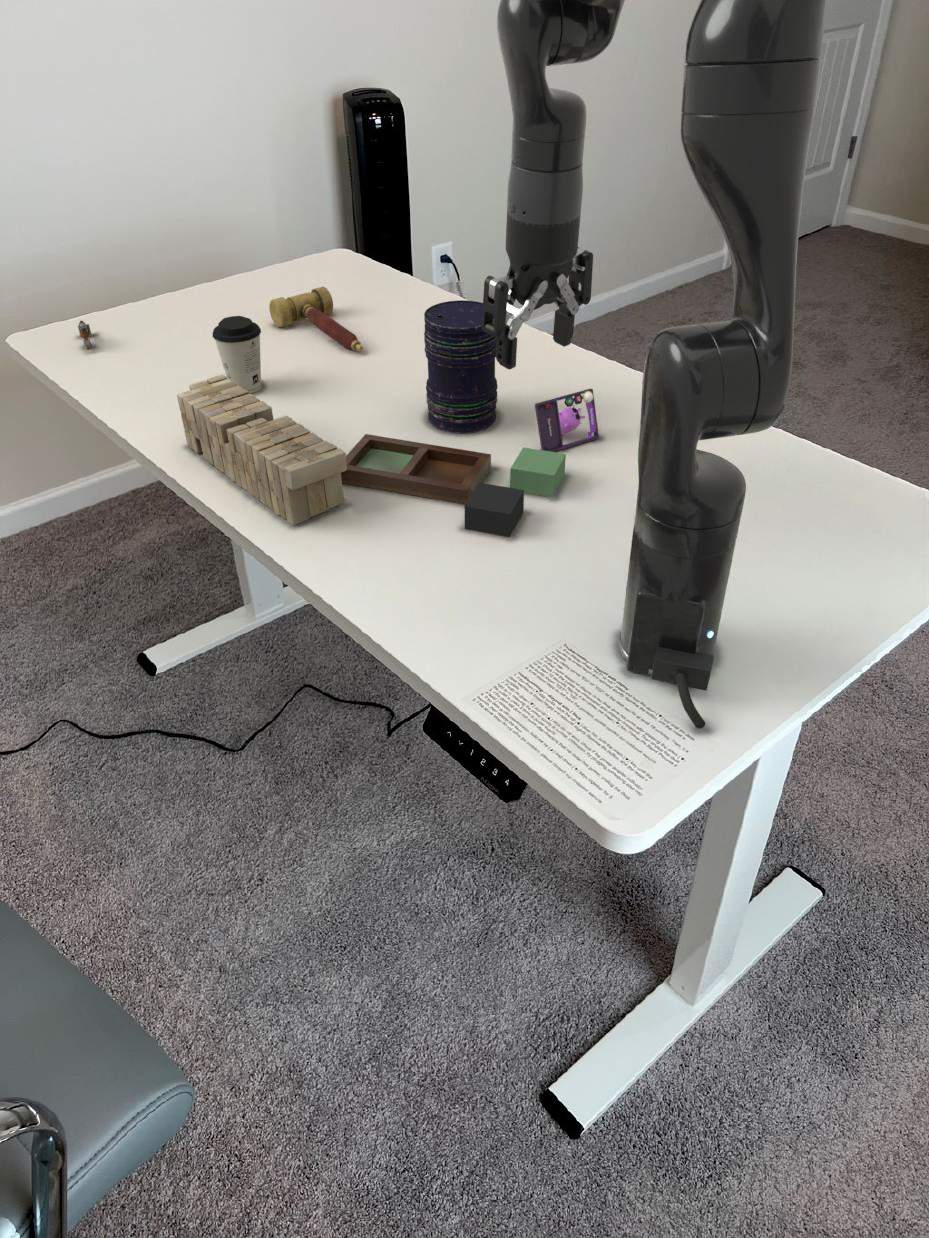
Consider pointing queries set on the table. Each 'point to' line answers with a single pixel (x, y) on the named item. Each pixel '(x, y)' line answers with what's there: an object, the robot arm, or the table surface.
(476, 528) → the charcoal pad
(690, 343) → the robot arm
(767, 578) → the table surface
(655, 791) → the table surface
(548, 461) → the sage pad
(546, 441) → the game card
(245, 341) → the coffee cup
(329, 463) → the block tower
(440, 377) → the navy oil drum
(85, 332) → the wooden post with brackets
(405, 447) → the divided wooden tray
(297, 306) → the gavel
